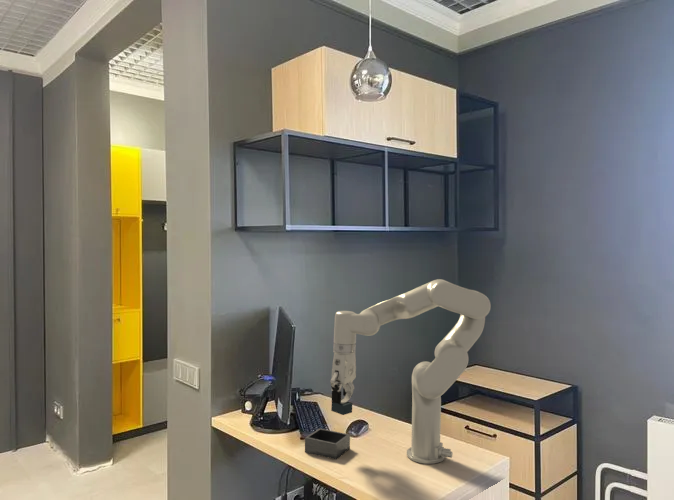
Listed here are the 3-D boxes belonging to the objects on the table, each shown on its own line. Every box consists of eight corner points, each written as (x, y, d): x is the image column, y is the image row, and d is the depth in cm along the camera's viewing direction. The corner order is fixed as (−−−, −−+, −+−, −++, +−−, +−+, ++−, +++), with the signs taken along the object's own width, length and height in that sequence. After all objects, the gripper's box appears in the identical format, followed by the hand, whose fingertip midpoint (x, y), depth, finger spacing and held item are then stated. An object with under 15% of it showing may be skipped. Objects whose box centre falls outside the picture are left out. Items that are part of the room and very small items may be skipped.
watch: (355, 411, 174) (357, 378, 174) (339, 416, 169) (340, 382, 169) (344, 407, 178) (345, 375, 178) (327, 411, 173) (328, 379, 172)
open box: (349, 448, 178) (350, 434, 178) (336, 459, 169) (336, 444, 169) (319, 442, 184) (319, 428, 184) (304, 452, 175) (305, 437, 175)
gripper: (343, 354, 164) (340, 408, 164) (364, 345, 179) (362, 395, 180) (322, 350, 167) (320, 404, 167) (345, 342, 183) (343, 391, 183)
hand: (341, 399), depth 174 cm, fingers closed on watch, 8 cm apart
